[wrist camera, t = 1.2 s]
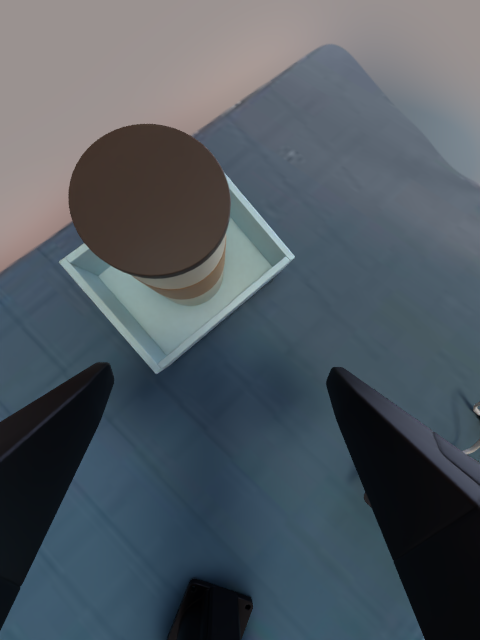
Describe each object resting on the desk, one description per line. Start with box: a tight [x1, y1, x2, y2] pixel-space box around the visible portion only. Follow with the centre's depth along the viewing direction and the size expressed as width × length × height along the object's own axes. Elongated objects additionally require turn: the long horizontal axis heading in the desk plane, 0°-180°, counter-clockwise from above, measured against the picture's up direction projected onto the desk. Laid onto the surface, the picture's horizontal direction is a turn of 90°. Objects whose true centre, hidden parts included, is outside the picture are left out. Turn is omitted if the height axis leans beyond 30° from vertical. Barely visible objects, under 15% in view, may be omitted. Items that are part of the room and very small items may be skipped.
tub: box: [59, 173, 295, 374], centre depth 20 cm, size 15×12×4 cm
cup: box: [69, 124, 231, 306], centre depth 16 cm, size 7×7×12 cm
